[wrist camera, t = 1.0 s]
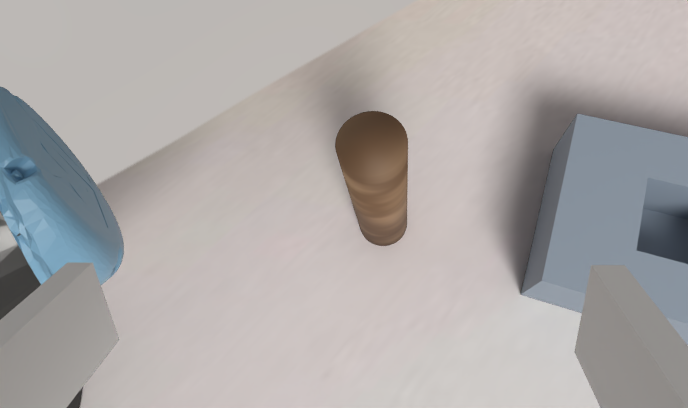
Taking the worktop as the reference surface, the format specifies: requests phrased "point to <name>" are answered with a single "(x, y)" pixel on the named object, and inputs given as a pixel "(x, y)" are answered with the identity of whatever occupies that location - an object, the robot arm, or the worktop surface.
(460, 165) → the worktop surface
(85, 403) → the worktop surface
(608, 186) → the bore block
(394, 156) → the walnut peg
